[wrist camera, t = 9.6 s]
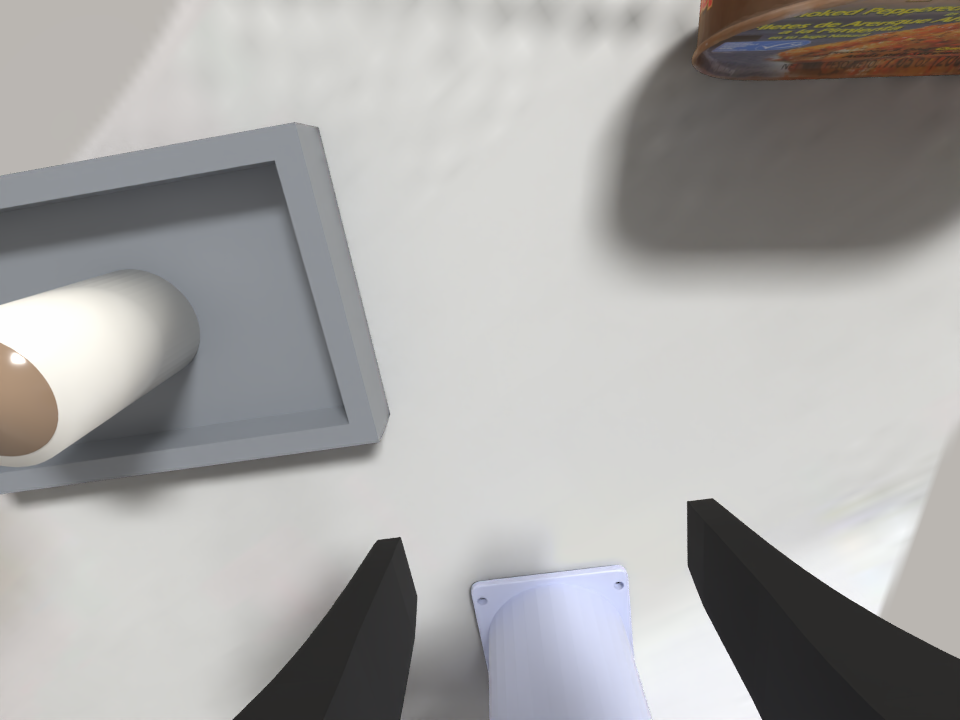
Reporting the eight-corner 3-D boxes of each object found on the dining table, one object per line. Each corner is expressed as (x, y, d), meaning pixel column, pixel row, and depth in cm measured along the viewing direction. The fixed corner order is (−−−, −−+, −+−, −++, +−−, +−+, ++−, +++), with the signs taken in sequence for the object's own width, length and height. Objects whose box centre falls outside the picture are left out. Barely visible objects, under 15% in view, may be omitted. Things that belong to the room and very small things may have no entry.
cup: (215, 368, 22) (97, 458, 15) (113, 382, 22) (-46, 476, 15) (176, 261, 20) (25, 310, 14) (67, 277, 20) (-133, 333, 14)
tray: (390, 414, 23) (379, 442, 21) (21, 465, 24) (-28, 498, 22) (318, 127, 19) (294, 122, 17) (-125, 207, 20) (-205, 212, 18)
